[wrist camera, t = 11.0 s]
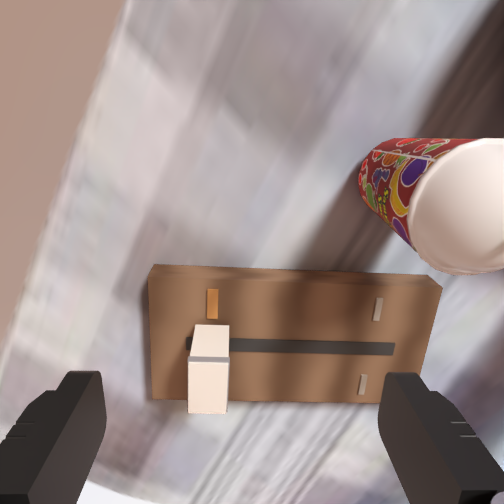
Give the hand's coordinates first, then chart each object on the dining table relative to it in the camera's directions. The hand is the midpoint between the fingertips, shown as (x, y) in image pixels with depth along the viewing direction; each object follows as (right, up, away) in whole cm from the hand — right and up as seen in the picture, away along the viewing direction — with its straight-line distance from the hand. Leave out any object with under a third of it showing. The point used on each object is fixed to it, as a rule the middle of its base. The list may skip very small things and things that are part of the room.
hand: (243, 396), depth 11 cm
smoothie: (+13, +11, +25) cm, 30 cm away
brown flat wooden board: (+4, -4, +30) cm, 31 cm away
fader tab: (-4, -5, +26) cm, 27 cm away
